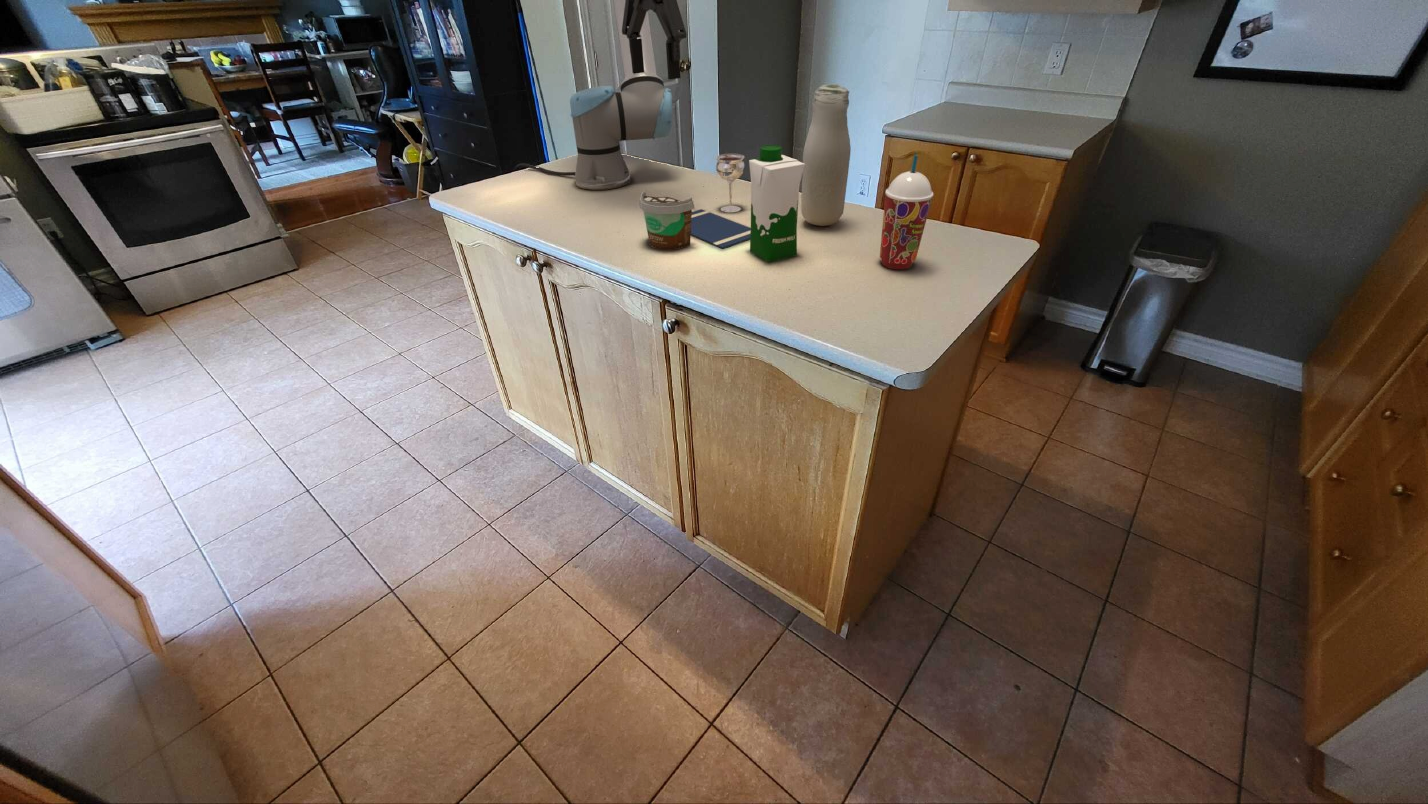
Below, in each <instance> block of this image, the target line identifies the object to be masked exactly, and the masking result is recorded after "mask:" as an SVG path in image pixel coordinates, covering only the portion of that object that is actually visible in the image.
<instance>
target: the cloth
mask: <svg viewBox="0 0 1428 804" xmlns="http://www.w3.org/2000/svg"><path fill="white" fill-rule="evenodd" d="M750 233H751V227H749V226H747V225H745V224H741V223H738V222H737V221H735V220H734V221H733V220H731V219H729V218H725V217H723V216H720V215H719V214H718V215H717V214H715V213H712V212H710V211H707V210H705V209H702V208H701V209H698V210H694V211H692V216H691V237H694V238H696V239H699V240H701V241H703V242H705V243H708V244H710V245H711V246H714V247H717V248H719V249H721V250H724V249H726V248H730V247H733V246H735V245H738V244H742V243H744V242H747V241H750Z"/></svg>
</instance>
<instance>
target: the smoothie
mask: <svg viewBox="0 0 1428 804" xmlns="http://www.w3.org/2000/svg"><path fill="white" fill-rule="evenodd" d="M918 159H919V158H918V155H917V154H914V155H913V160H912V165H911V170H909V171H905V172H902V173H900V174H898V175H897V176H896V177H895V178H894V179H893V180H892V181H891V183H890V184H889V186H888V187H887V188H886V189H885V194H884V207H883V215H882V228H881V239H880V248H879V249H880V250H879V258H880V259H881V264H882V265H883V266H885V267H886V268H888V269H893V270H905V269H908V268H911V267H912V265H913V263H915V261H916V260H917V257H918V252H919V250H920V245H921V242H922V237H923V235H924V230H925V228H926V224H927V220H928V216H929V212H930V209H931V205H932V201H933V197H934V191H932V186H931V183H930V181H929V179H928V178H927V176H925V175H924V174H923V173H922V172H919V171H916V169H917V162H918Z"/></svg>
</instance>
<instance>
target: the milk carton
mask: <svg viewBox="0 0 1428 804" xmlns="http://www.w3.org/2000/svg"><path fill="white" fill-rule="evenodd" d="M782 151H783V149H782V146H781V145H775V144H768V145H762V146H760V147H759V157H757V158H754V159H749V160H748V163H749V165H748V166H749V174H750V228H751V233H750V240H749V252H751V253H752V254H753V255H755V256H757V257H759V258H760V259H761V260H762V261H765V262H766V263H767V264H769V263H773V262H776V261H777V262H778V261H781V260H786V259H788V258H789V259H790V258H793V257H797V256H798V243H797V242H798V231H797V230H798V229H797V228H798V215H799V214H798V213H799V200H800V199H799V198H800V185H801V181H802V178H803V177H802V176H803V170H804V166H805V164H804V163H803V162H801V161H799V160H798V159H795V158H793V157H789V156H787V155H784V154H782Z"/></svg>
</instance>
